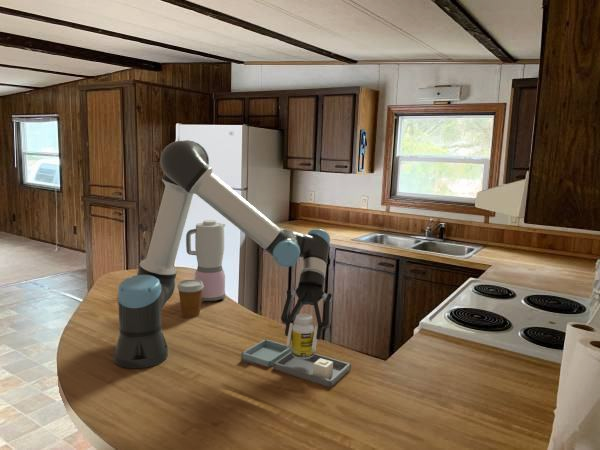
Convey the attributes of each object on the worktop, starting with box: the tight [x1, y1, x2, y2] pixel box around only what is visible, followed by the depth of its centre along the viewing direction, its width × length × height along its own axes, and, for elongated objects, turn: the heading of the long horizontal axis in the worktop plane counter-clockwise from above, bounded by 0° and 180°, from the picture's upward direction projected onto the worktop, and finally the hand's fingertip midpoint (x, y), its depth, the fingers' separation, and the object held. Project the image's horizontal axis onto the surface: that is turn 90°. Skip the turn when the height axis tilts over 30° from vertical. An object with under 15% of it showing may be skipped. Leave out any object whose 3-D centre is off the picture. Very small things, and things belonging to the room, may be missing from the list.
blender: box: [185, 219, 226, 304], centre depth 190 cm, size 16×12×32 cm
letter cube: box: [313, 358, 333, 379], centre depth 131 cm, size 4×4×4 cm
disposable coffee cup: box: [176, 279, 204, 318], centre depth 175 cm, size 10×10×12 cm
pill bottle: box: [291, 313, 316, 359], centre depth 135 cm, size 6×6×12 cm
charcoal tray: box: [273, 351, 352, 388], centre depth 135 cm, size 12×18×2 cm
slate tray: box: [240, 338, 292, 368], centre depth 143 cm, size 12×10×2 cm
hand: (300, 348), depth 132 cm, fingers closed on pill bottle, 6 cm apart
